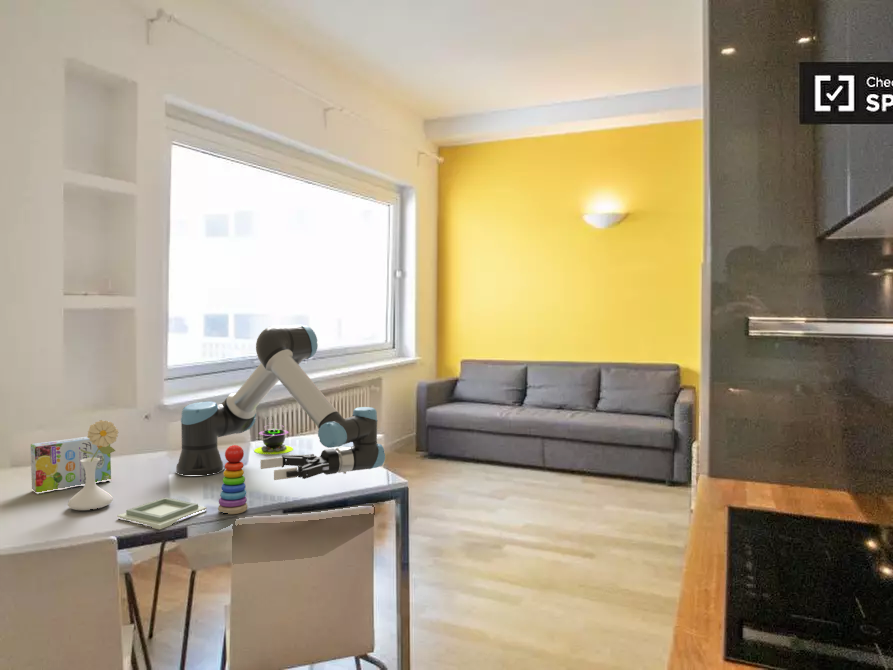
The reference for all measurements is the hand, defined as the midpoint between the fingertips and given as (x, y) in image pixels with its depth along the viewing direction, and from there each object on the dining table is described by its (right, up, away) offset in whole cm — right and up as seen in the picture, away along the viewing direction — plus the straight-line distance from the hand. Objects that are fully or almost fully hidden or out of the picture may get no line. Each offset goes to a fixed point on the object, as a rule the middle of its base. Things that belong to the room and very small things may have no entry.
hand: (267, 469), depth 188 cm
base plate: (-26, -11, -9) cm, 30 cm away
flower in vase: (-49, -10, -3) cm, 50 cm away
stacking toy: (-8, -11, -4) cm, 15 cm away
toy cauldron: (-16, -7, +69) cm, 71 cm away
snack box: (-66, -9, +16) cm, 69 cm away
